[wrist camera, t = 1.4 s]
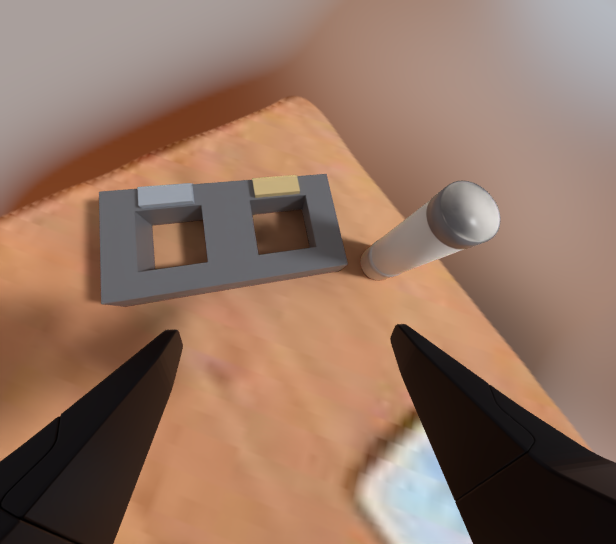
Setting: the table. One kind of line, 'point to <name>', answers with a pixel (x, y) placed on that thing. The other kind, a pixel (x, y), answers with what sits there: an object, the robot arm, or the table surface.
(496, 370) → the table surface
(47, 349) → the table surface
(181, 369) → the table surface
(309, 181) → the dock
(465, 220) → the white dome-top cylinder
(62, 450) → the robot arm
